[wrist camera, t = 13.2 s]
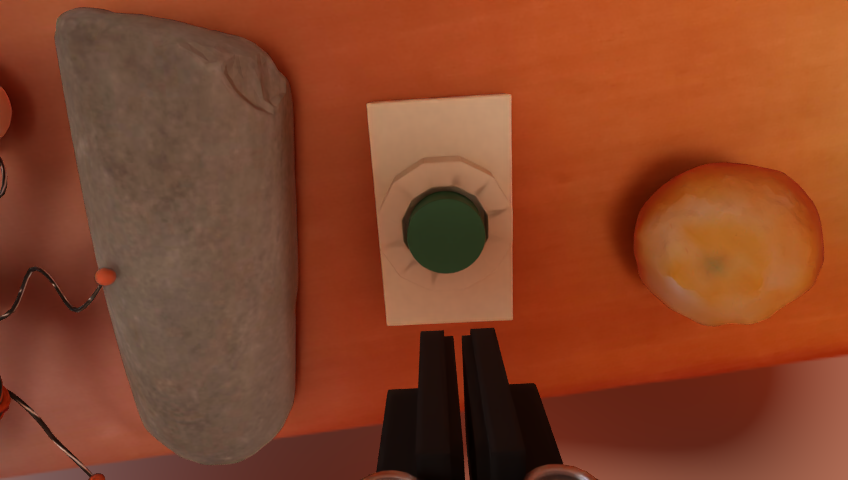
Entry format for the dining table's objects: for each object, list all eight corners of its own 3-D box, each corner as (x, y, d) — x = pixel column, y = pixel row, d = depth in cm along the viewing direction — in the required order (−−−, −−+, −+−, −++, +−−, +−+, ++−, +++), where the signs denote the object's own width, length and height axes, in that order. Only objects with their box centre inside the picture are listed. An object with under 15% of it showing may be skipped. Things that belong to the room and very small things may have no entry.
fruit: (811, 278, 27) (828, 358, 21) (653, 273, 31) (629, 337, 25) (816, 131, 25) (838, 171, 18) (645, 148, 29) (616, 184, 23)
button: (482, 259, 25) (486, 271, 23) (411, 262, 25) (409, 275, 23) (481, 188, 24) (485, 196, 22) (405, 192, 24) (404, 201, 22)
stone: (300, 21, 24) (109, 15, 25) (234, 3, 18) (-23, -4, 18) (317, 420, 32) (171, 406, 33) (276, 511, 25) (94, 490, 26)
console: (507, 303, 29) (518, 336, 25) (390, 309, 29) (383, 342, 26) (504, 93, 26) (518, 95, 22) (371, 101, 26) (361, 105, 22)
